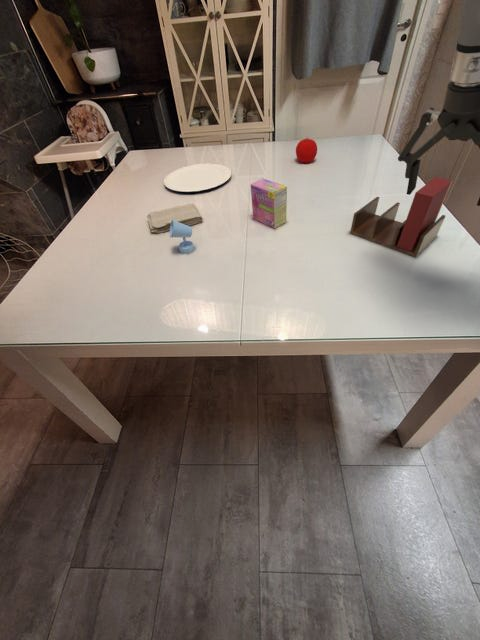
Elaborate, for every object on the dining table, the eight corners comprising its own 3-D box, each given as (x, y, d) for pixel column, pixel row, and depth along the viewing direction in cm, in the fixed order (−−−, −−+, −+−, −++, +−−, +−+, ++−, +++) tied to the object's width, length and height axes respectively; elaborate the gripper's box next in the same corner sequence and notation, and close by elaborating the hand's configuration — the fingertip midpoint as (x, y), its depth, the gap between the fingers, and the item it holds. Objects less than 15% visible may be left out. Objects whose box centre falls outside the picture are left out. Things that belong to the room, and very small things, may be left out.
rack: (436, 236, 85) (445, 215, 80) (415, 257, 79) (424, 236, 75) (372, 216, 96) (377, 196, 91) (349, 233, 90) (354, 213, 85)
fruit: (291, 163, 132) (292, 137, 125) (302, 156, 136) (303, 131, 129) (309, 166, 127) (311, 140, 120) (320, 159, 132) (322, 134, 124)
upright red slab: (429, 234, 85) (452, 180, 74) (411, 251, 80) (433, 196, 69) (415, 229, 87) (435, 176, 76) (396, 246, 82) (415, 192, 71)
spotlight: (175, 256, 89) (197, 251, 90) (166, 226, 82) (190, 221, 83) (173, 247, 93) (195, 243, 94) (165, 218, 86) (188, 213, 86)
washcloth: (147, 219, 107) (145, 211, 105) (195, 208, 110) (194, 200, 108) (152, 235, 99) (149, 227, 97) (203, 222, 102) (202, 214, 100)
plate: (236, 165, 135) (236, 161, 134) (225, 194, 116) (224, 190, 114) (175, 167, 140) (174, 164, 139) (154, 195, 120) (153, 191, 119)
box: (252, 218, 101) (250, 183, 92) (264, 212, 103) (263, 177, 95) (274, 229, 95) (274, 192, 87) (286, 222, 98) (287, 186, 89)
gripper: (387, 90, 53) (378, 196, 70) (575, 84, 39) (509, 219, 55) (406, 71, 56) (393, 178, 72) (591, 59, 41) (523, 195, 58)
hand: (443, 196), depth 64 cm, fingers open, 13 cm apart
